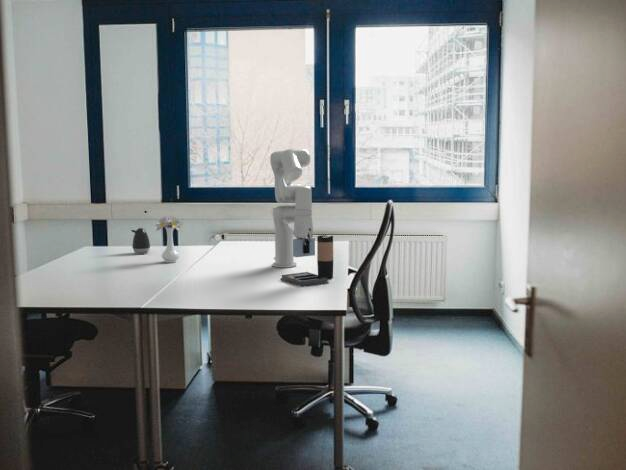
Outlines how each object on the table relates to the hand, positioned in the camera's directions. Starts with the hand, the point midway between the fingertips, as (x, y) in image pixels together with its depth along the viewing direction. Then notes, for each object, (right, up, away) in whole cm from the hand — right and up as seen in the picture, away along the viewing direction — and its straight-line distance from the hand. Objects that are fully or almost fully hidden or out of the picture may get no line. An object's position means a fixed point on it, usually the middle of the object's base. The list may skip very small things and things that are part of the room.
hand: (304, 252), depth 316 cm
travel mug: (+10, -13, +11) cm, 19 cm away
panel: (0, -2, 0) cm, 2 cm away
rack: (0, -14, +2) cm, 14 cm away
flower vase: (-74, -7, +59) cm, 95 cm away
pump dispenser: (-97, -3, +88) cm, 131 cm away
